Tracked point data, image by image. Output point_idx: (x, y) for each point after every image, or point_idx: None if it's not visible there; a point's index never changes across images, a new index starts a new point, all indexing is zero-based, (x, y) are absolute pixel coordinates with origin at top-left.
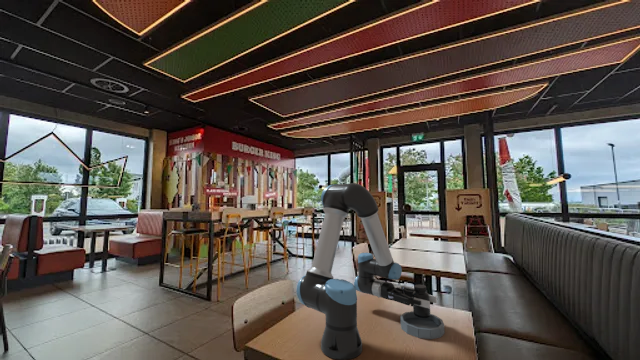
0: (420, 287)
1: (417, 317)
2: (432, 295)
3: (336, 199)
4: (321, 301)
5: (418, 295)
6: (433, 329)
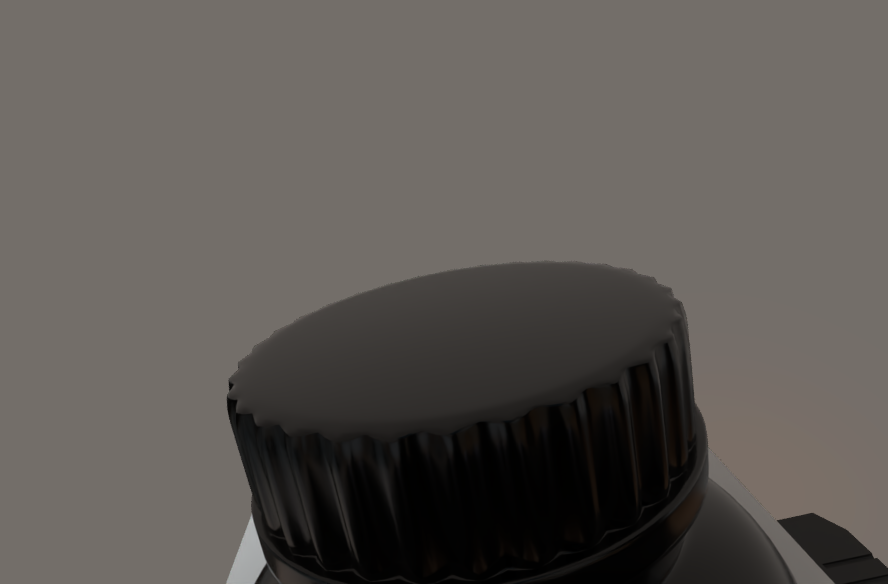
0: (564, 279)
1: None
2: (255, 529)
3: None
4: None
5: (721, 493)
6: None
